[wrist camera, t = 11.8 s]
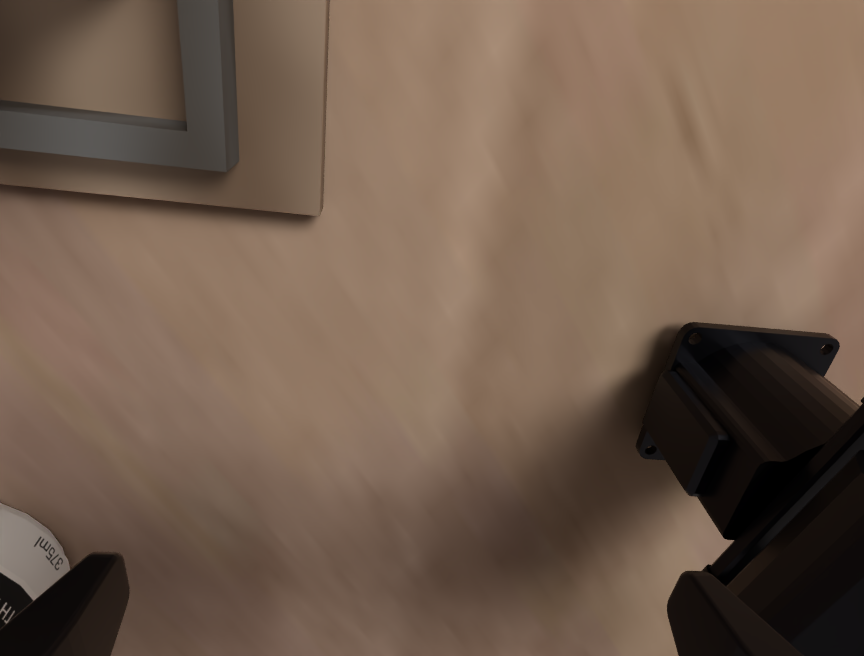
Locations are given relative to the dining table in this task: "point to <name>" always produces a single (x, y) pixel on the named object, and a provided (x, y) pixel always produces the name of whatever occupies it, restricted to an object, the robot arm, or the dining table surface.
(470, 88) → the dining table surface
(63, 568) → the supplement can
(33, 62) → the seat board
